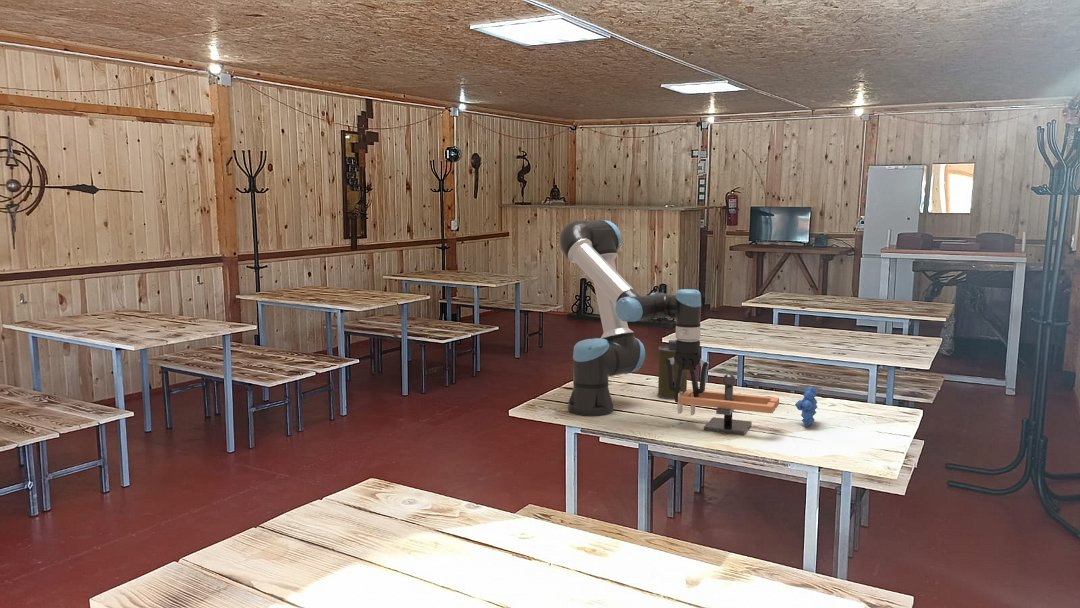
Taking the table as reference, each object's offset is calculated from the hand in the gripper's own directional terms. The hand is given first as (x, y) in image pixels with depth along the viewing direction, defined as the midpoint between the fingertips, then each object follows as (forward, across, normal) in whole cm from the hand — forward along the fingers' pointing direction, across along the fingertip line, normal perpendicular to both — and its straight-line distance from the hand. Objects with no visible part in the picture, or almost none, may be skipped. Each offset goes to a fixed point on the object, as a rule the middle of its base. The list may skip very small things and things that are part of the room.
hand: (686, 413), depth 247 cm
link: (-4, +13, 0) cm, 14 cm away
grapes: (+3, +34, +14) cm, 37 cm away
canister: (+3, -14, +33) cm, 36 cm away
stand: (+3, +13, 0) cm, 13 cm away
